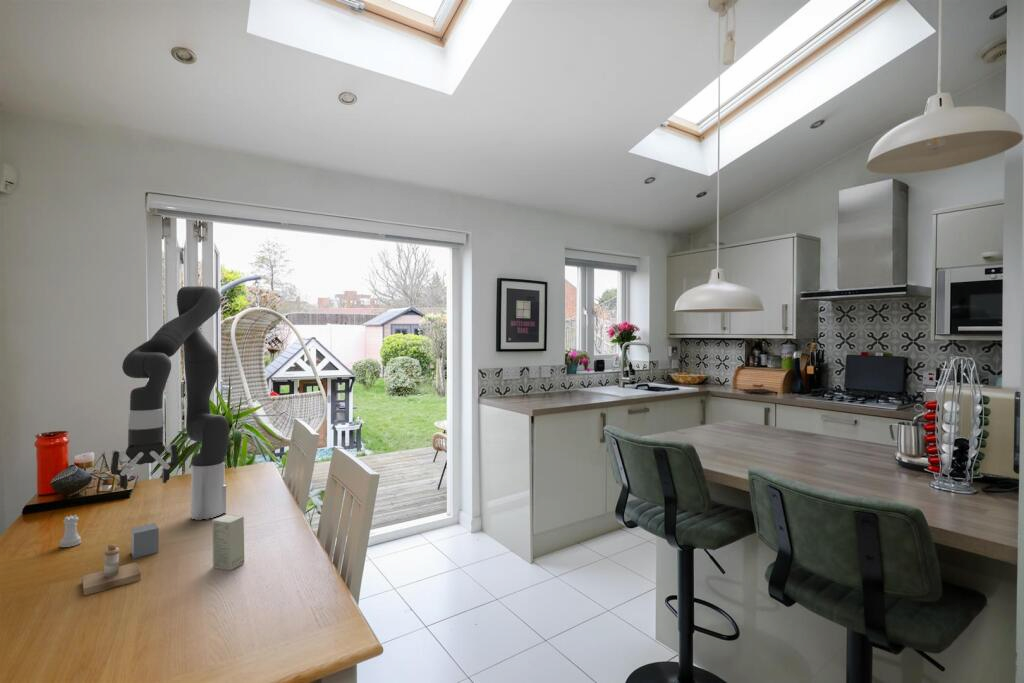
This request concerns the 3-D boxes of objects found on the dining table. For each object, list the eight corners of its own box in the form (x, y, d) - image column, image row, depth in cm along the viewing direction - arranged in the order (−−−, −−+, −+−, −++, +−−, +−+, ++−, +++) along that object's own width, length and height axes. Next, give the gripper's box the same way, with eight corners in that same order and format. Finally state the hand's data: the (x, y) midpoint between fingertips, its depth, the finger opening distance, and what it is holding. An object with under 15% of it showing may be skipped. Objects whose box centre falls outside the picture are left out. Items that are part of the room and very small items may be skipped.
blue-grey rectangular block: (154, 546, 131) (155, 522, 131) (158, 552, 127) (158, 528, 127) (131, 552, 127) (131, 527, 127) (133, 558, 124) (134, 533, 124)
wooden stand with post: (135, 568, 118) (136, 534, 118) (140, 580, 113) (141, 544, 113) (81, 582, 111) (82, 546, 111) (84, 595, 105) (84, 557, 106)
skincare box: (244, 563, 121) (245, 516, 122) (229, 571, 117) (230, 522, 117) (226, 559, 123) (227, 513, 124) (210, 567, 119) (211, 519, 119)
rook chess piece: (67, 549, 129) (68, 520, 129) (55, 547, 130) (55, 518, 130) (85, 542, 133) (86, 514, 133) (73, 541, 134) (73, 513, 134)
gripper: (175, 421, 135) (174, 478, 135) (110, 427, 125) (109, 488, 125) (180, 424, 130) (179, 483, 130) (113, 430, 120) (111, 494, 120)
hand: (144, 485), depth 127 cm, fingers open, 8 cm apart
